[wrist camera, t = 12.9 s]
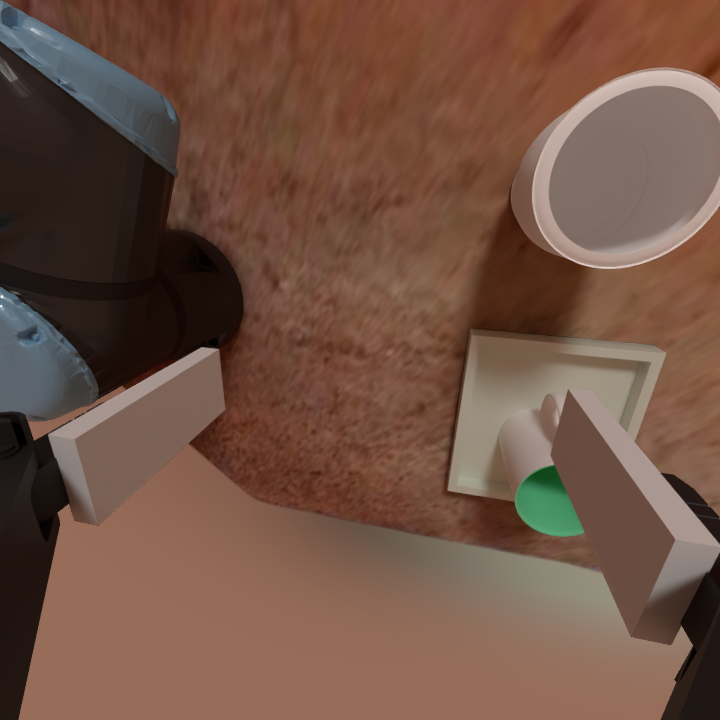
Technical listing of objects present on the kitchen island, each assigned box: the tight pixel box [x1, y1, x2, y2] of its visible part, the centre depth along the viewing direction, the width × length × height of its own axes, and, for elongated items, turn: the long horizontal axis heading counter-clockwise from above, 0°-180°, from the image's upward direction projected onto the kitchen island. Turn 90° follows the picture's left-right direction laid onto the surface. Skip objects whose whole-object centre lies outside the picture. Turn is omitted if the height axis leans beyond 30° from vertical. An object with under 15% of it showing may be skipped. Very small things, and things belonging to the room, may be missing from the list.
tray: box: [447, 328, 666, 501], centre depth 43 cm, size 18×20×2 cm
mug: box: [499, 393, 585, 536], centre depth 38 cm, size 12×8×10 cm, turn 3°
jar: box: [511, 68, 720, 269], centre depth 29 cm, size 11×10×15 cm
